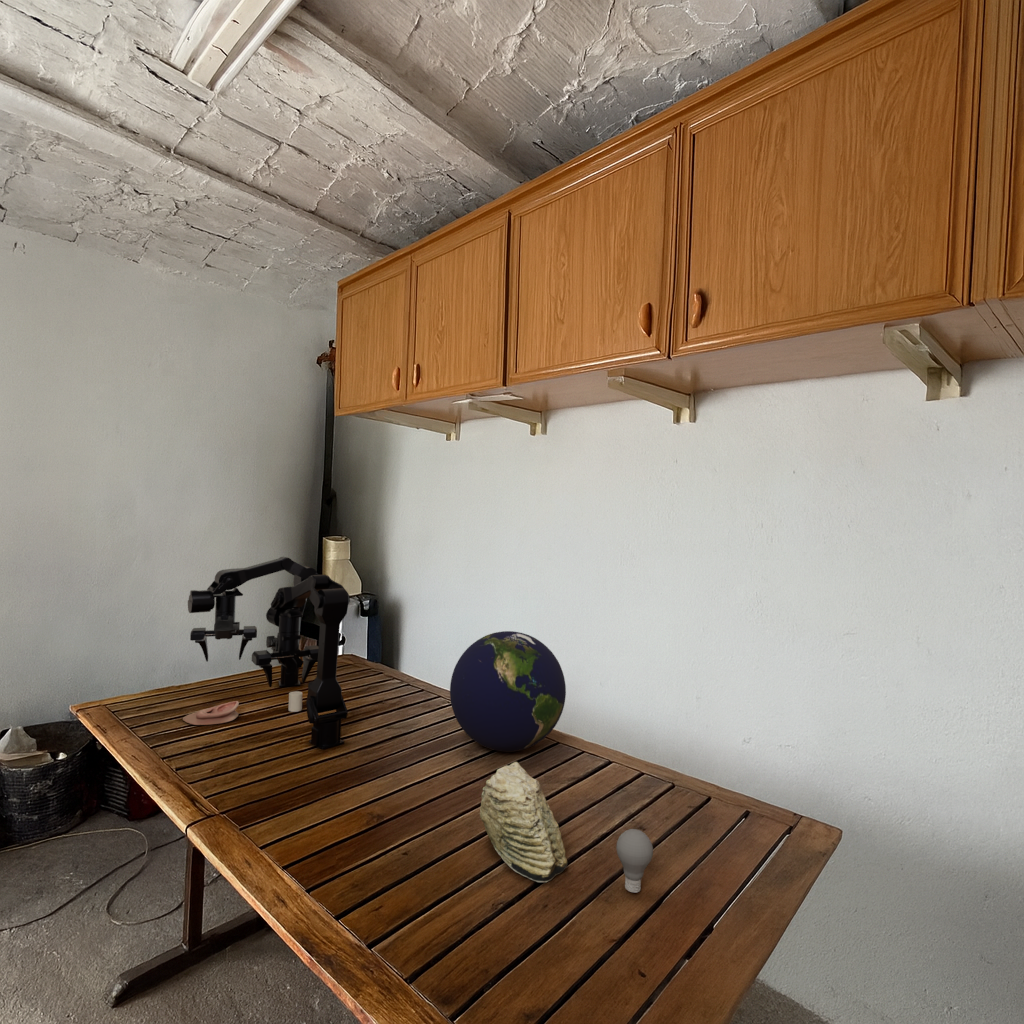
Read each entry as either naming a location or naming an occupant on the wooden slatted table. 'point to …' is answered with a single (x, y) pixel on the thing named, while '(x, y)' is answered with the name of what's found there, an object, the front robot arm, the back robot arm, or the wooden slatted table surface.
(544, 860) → the fossil
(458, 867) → the wooden slatted table surface
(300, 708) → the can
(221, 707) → the anatomical model
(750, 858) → the wooden slatted table surface
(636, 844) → the light bulb
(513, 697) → the globe
